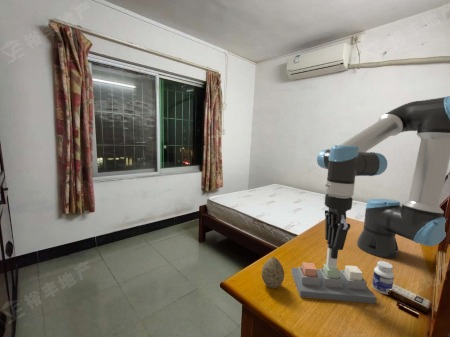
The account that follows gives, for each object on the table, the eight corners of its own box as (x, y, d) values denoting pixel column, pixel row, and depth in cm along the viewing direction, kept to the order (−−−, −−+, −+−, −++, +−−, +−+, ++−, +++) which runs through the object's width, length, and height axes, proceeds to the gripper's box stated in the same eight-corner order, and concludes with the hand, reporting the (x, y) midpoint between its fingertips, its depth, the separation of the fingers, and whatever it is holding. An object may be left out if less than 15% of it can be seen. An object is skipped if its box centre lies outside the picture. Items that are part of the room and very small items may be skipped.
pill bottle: (369, 282, 73) (373, 258, 72) (388, 286, 71) (391, 261, 70) (374, 292, 68) (377, 266, 67) (394, 296, 66) (398, 270, 65)
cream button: (355, 274, 70) (356, 266, 70) (361, 281, 67) (362, 272, 66) (344, 273, 71) (345, 265, 70) (349, 280, 67) (350, 272, 67)
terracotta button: (312, 271, 71) (313, 262, 71) (316, 278, 68) (316, 269, 68) (301, 270, 72) (302, 262, 71) (304, 277, 68) (305, 268, 68)
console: (354, 277, 75) (356, 265, 74) (375, 303, 63) (377, 289, 62) (291, 272, 77) (292, 261, 76) (300, 296, 65) (301, 283, 64)
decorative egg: (266, 276, 74) (267, 249, 73) (286, 284, 70) (288, 256, 69) (257, 287, 68) (259, 259, 67) (278, 297, 64) (281, 266, 63)
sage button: (333, 272, 71) (334, 264, 70) (338, 279, 67) (339, 271, 67) (322, 271, 71) (323, 263, 71) (326, 278, 68) (327, 270, 67)
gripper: (319, 189, 72) (312, 254, 75) (335, 200, 59) (327, 277, 63) (341, 190, 72) (334, 255, 75) (363, 201, 59) (353, 279, 62)
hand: (331, 265), depth 69 cm, fingers closed
